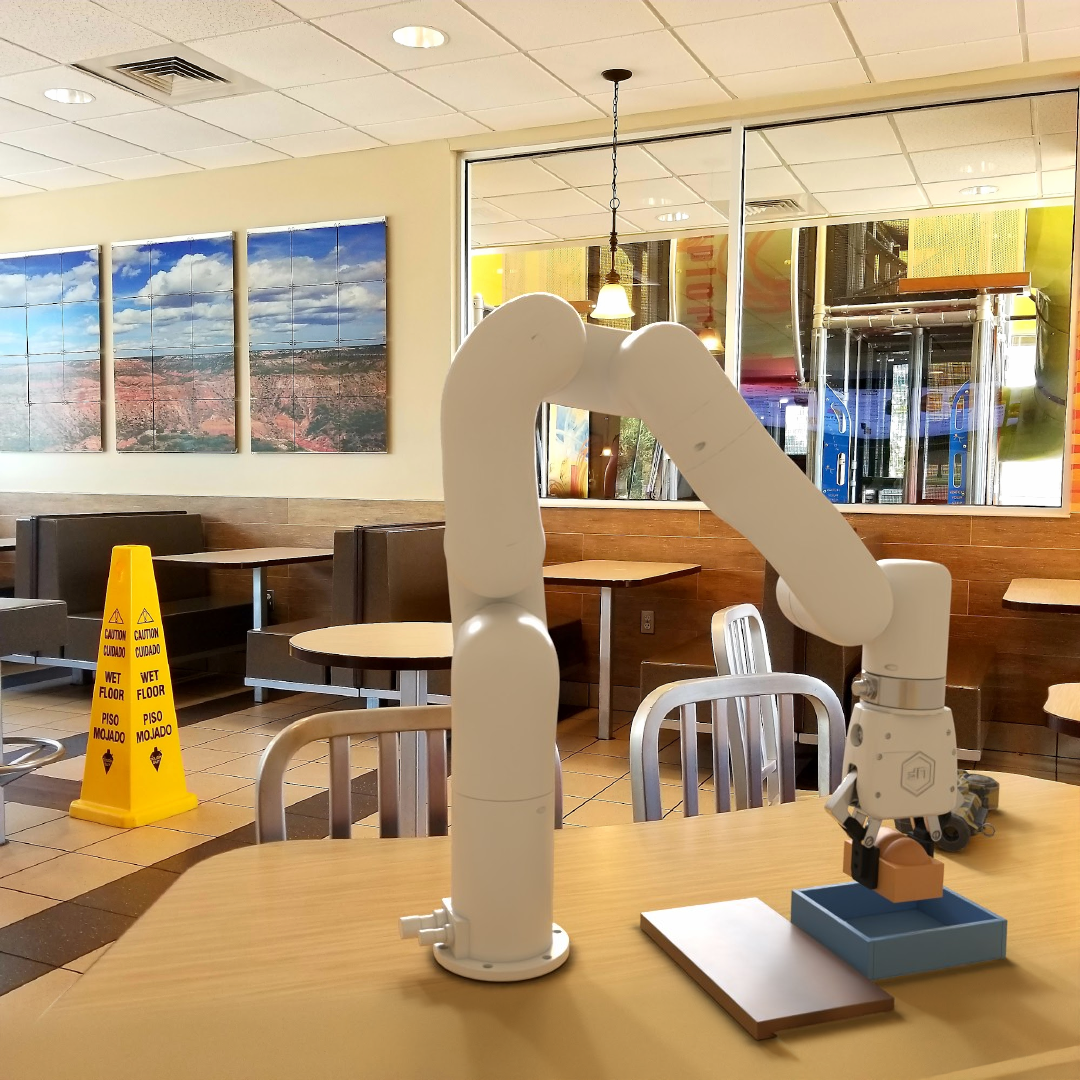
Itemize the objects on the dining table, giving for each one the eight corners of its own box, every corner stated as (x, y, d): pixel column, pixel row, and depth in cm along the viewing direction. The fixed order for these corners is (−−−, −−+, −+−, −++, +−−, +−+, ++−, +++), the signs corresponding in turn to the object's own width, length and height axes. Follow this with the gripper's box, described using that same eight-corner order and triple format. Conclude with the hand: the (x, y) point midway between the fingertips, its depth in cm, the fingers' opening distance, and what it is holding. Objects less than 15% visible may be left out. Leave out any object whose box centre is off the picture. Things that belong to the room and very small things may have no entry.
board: (756, 1040, 84) (757, 1022, 84) (639, 927, 105) (640, 912, 105) (894, 1015, 89) (895, 997, 89) (756, 911, 109) (756, 896, 109)
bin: (867, 986, 94) (868, 941, 93) (790, 929, 105) (791, 889, 105) (1006, 962, 99) (1007, 919, 98) (918, 910, 110) (919, 872, 110)
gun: (861, 799, 132) (993, 821, 125) (897, 752, 154) (1010, 768, 148) (859, 837, 132) (991, 860, 125) (895, 784, 155) (1008, 801, 148)
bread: (893, 903, 97) (897, 849, 97) (842, 872, 104) (845, 821, 104) (942, 897, 99) (945, 844, 98) (888, 867, 106) (891, 817, 106)
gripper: (848, 704, 94) (837, 905, 95) (1005, 696, 100) (992, 887, 101) (800, 686, 101) (791, 875, 102) (949, 681, 107) (938, 859, 108)
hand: (891, 879), depth 101 cm, fingers closed on bread, 5 cm apart
